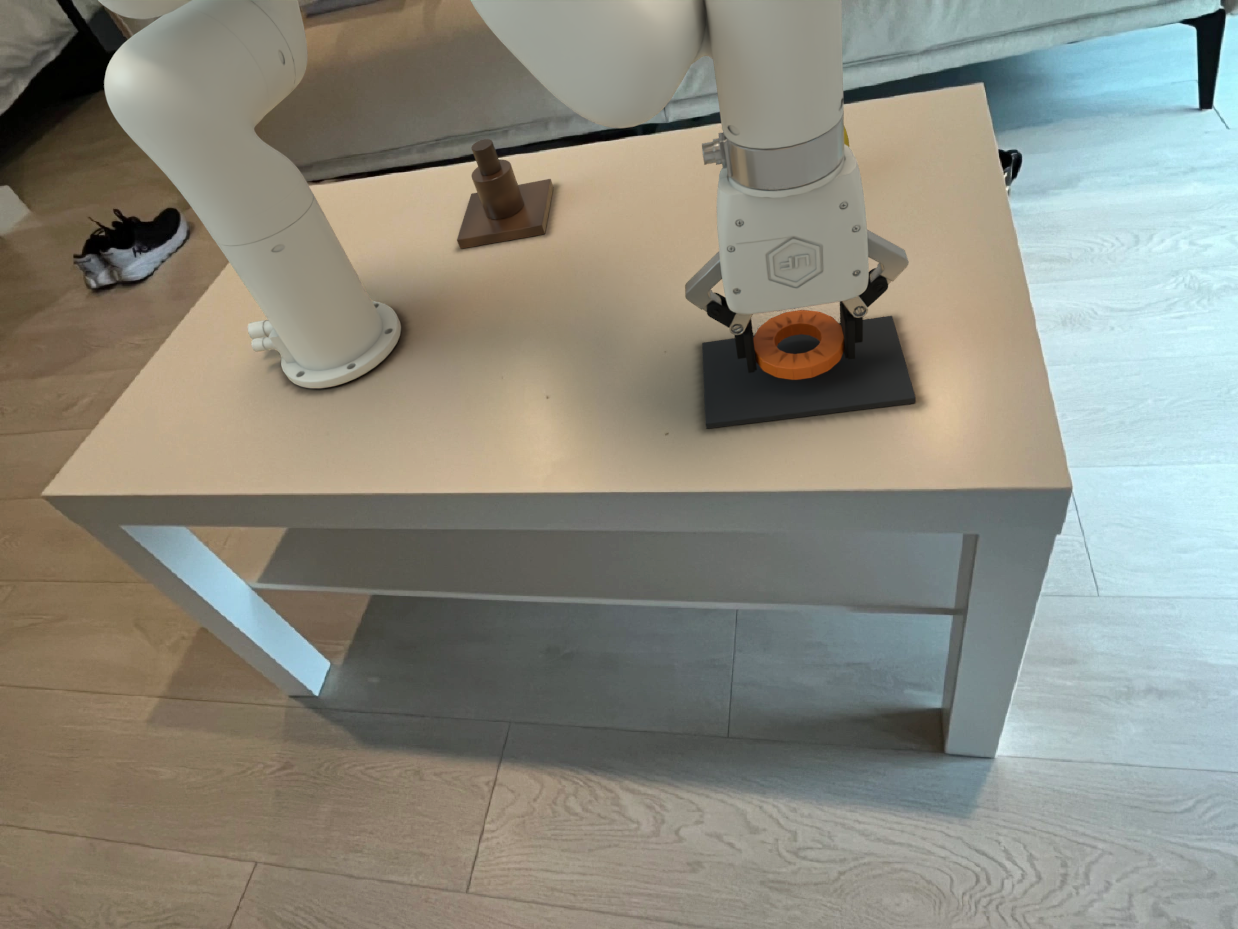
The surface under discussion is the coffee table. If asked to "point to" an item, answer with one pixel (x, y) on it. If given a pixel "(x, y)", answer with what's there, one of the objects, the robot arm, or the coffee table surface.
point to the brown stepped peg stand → (502, 202)
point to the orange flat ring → (801, 363)
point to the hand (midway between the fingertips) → (799, 353)
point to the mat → (806, 380)
